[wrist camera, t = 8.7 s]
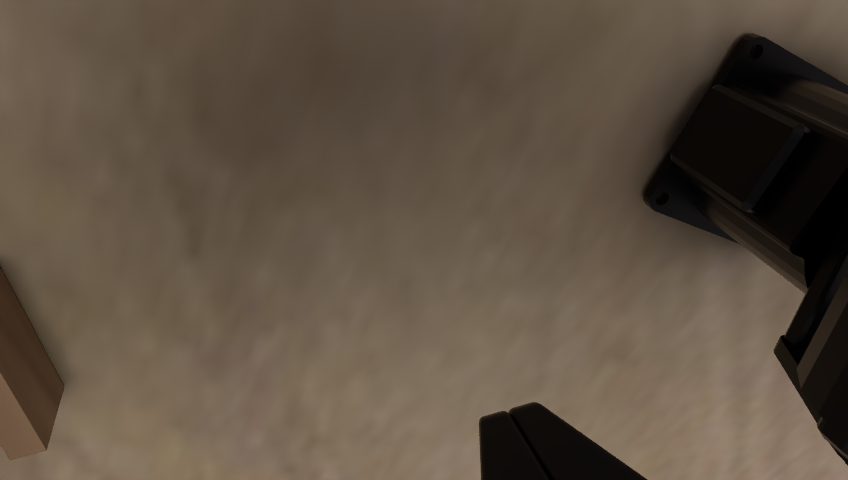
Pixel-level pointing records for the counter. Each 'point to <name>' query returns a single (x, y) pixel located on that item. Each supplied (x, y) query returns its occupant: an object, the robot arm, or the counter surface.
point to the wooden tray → (24, 382)
